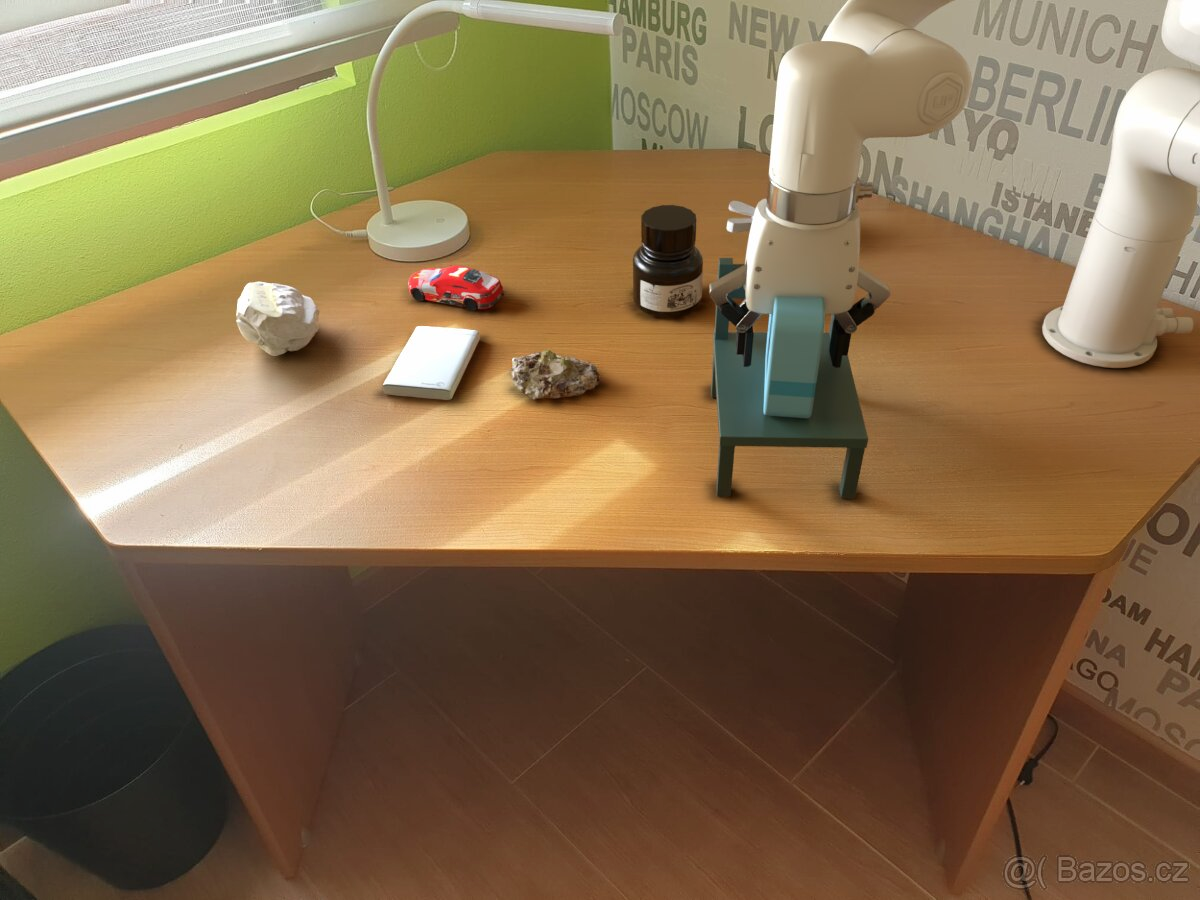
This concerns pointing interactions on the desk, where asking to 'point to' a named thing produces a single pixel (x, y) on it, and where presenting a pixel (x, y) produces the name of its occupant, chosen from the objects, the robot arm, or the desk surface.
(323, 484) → the desk surface
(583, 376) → the mineral rock
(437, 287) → the race car
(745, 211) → the bunny figurine
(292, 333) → the white rounded lump
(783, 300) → the light blue rounded block
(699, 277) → the ink bottle
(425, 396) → the hard drive
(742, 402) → the chair
